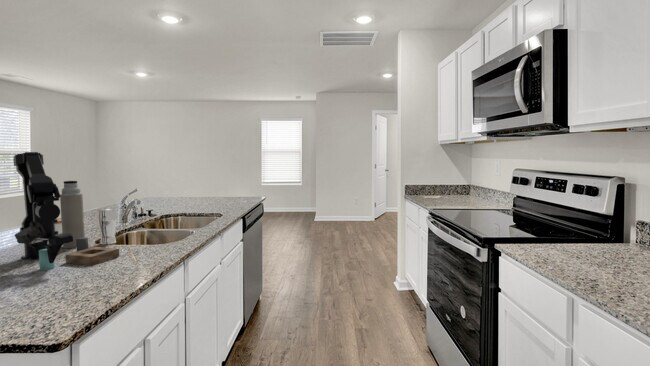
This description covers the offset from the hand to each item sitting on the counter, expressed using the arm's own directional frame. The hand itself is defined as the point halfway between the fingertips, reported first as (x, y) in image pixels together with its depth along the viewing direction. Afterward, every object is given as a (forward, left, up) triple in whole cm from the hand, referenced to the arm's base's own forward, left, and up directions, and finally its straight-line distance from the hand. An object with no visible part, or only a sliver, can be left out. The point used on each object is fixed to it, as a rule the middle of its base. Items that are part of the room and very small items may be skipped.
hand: (46, 262), depth 130 cm
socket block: (+6, +13, -2) cm, 14 cm away
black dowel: (-6, +19, -2) cm, 20 cm away
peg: (0, 0, -2) cm, 2 cm away
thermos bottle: (-21, +28, -2) cm, 35 cm away
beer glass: (-11, +36, -2) cm, 38 cm away
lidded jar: (-49, +41, -2) cm, 64 cm away
